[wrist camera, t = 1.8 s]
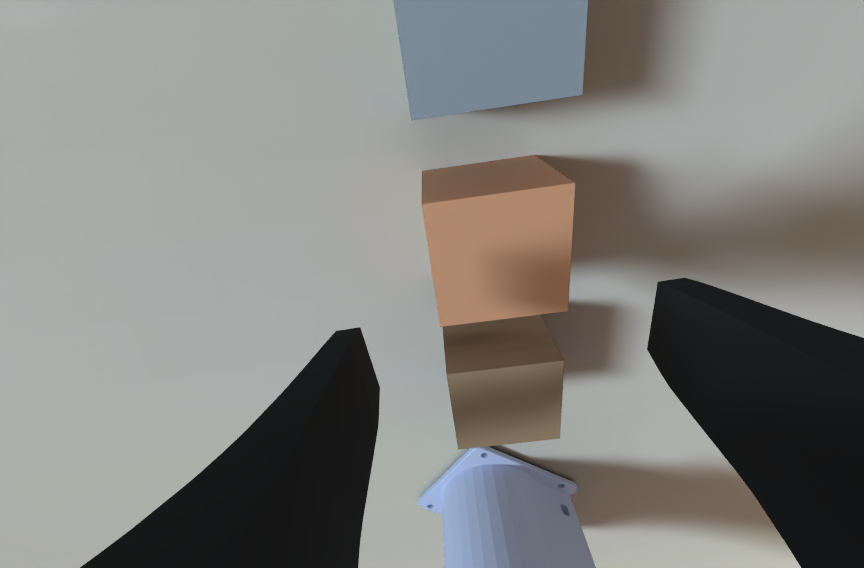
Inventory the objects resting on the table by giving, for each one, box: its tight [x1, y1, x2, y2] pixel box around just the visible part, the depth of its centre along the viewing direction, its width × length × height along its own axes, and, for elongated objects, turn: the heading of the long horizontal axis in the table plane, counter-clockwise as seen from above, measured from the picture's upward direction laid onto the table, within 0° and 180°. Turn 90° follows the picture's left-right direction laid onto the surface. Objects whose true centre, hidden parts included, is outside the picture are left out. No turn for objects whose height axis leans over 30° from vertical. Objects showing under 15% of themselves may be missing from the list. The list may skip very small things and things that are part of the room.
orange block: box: [422, 155, 575, 327], centre depth 15 cm, size 5×5×5 cm
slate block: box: [393, 0, 588, 121], centre depth 12 cm, size 5×5×5 cm
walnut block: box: [443, 315, 564, 450], centre depth 19 cm, size 5×5×5 cm
